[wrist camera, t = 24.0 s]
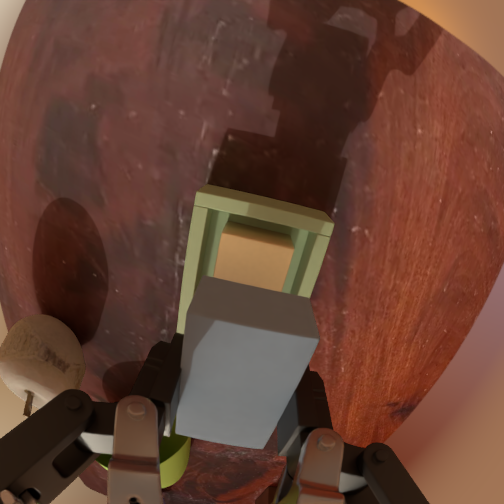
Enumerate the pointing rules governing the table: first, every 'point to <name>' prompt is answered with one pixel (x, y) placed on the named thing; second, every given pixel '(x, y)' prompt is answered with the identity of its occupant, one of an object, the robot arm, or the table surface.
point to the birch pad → (253, 256)
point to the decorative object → (41, 360)
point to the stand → (267, 496)
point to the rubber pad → (241, 361)
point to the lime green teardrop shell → (166, 457)
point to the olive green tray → (258, 215)
